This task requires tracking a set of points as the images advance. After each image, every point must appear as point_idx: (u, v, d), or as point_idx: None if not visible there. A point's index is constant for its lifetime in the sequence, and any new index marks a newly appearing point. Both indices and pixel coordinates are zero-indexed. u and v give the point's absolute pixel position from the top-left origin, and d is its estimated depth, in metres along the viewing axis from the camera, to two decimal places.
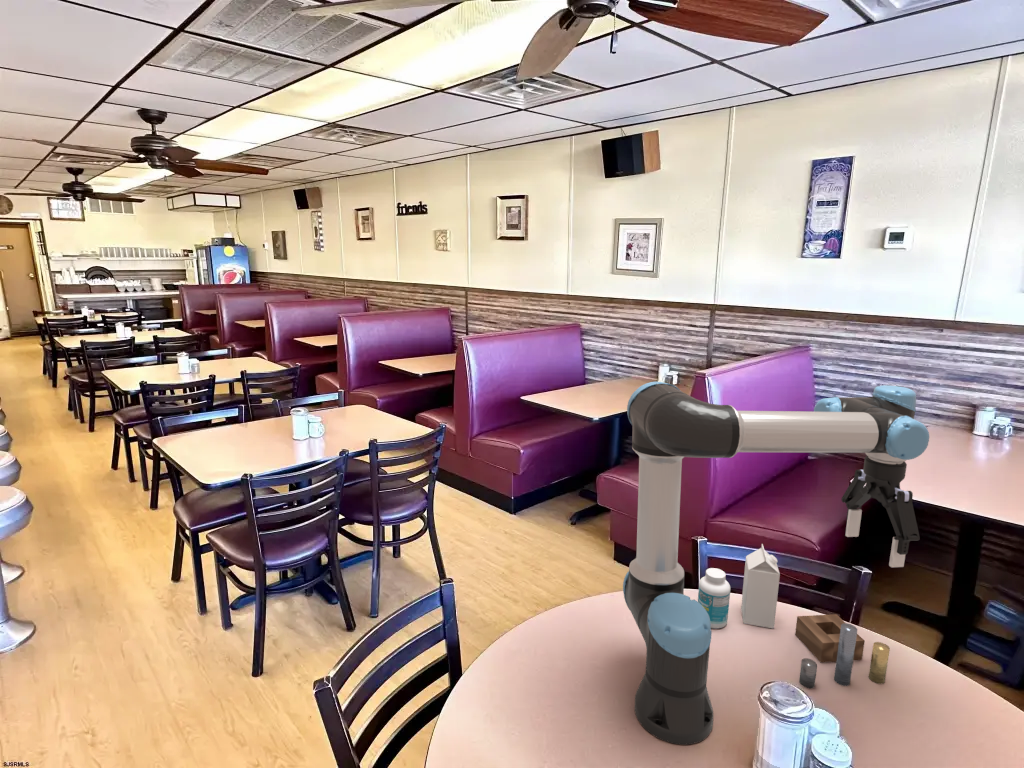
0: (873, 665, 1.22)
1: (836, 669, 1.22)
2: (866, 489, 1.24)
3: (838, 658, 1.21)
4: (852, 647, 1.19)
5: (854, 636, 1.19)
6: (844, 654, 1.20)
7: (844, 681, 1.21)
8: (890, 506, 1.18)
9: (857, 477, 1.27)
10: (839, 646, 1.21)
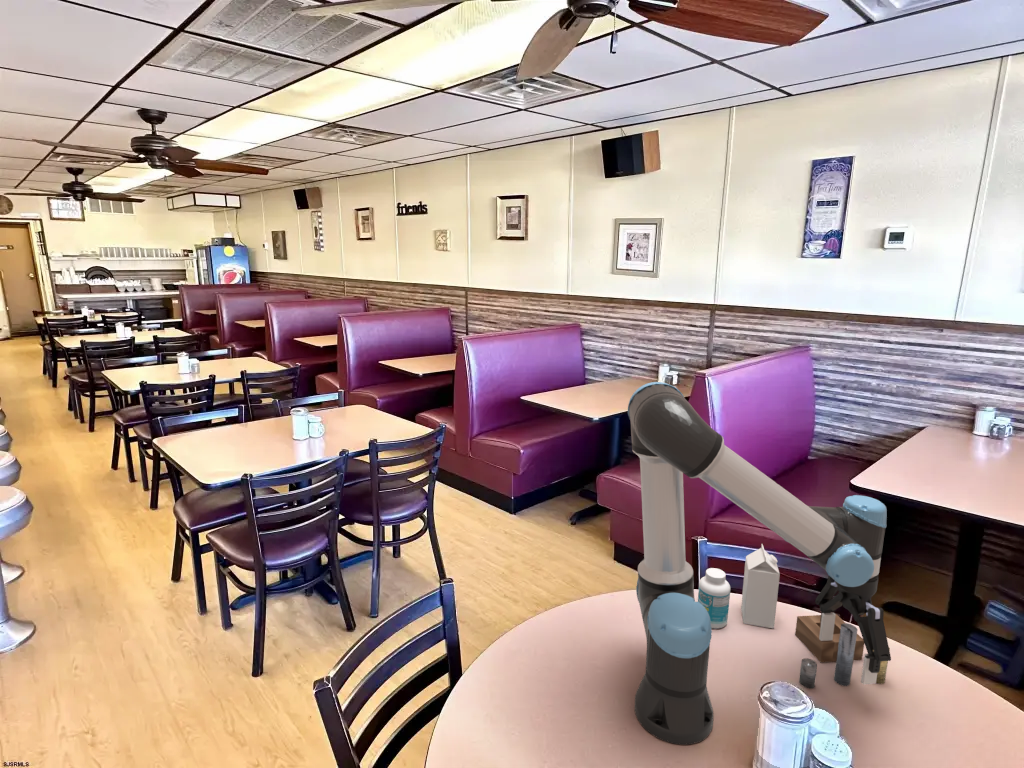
0: None
1: (836, 669, 1.22)
2: (838, 598, 1.21)
3: (838, 658, 1.21)
4: (852, 647, 1.19)
5: (854, 636, 1.19)
6: (844, 654, 1.20)
7: (844, 681, 1.21)
8: (862, 621, 1.15)
9: (830, 583, 1.24)
10: (839, 646, 1.21)
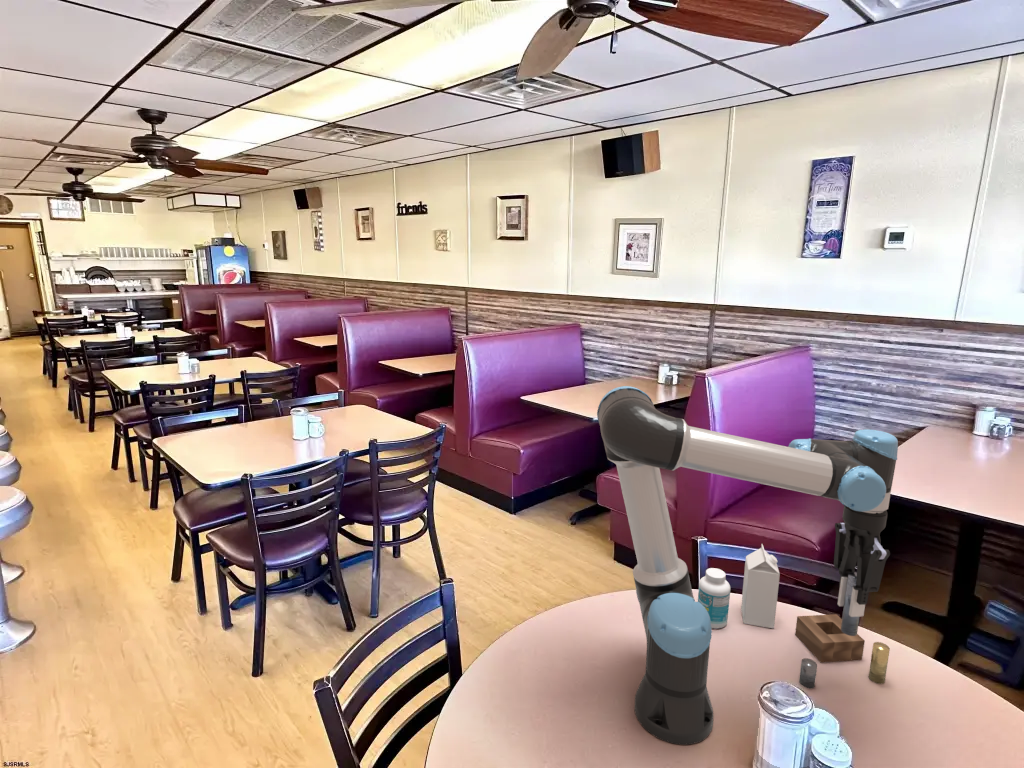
0: (873, 665, 1.22)
1: (843, 619, 1.20)
2: (848, 540, 1.17)
3: (845, 607, 1.19)
4: None
5: None
6: None
7: (851, 631, 1.19)
8: (863, 558, 1.14)
9: (838, 530, 1.21)
10: (846, 595, 1.19)
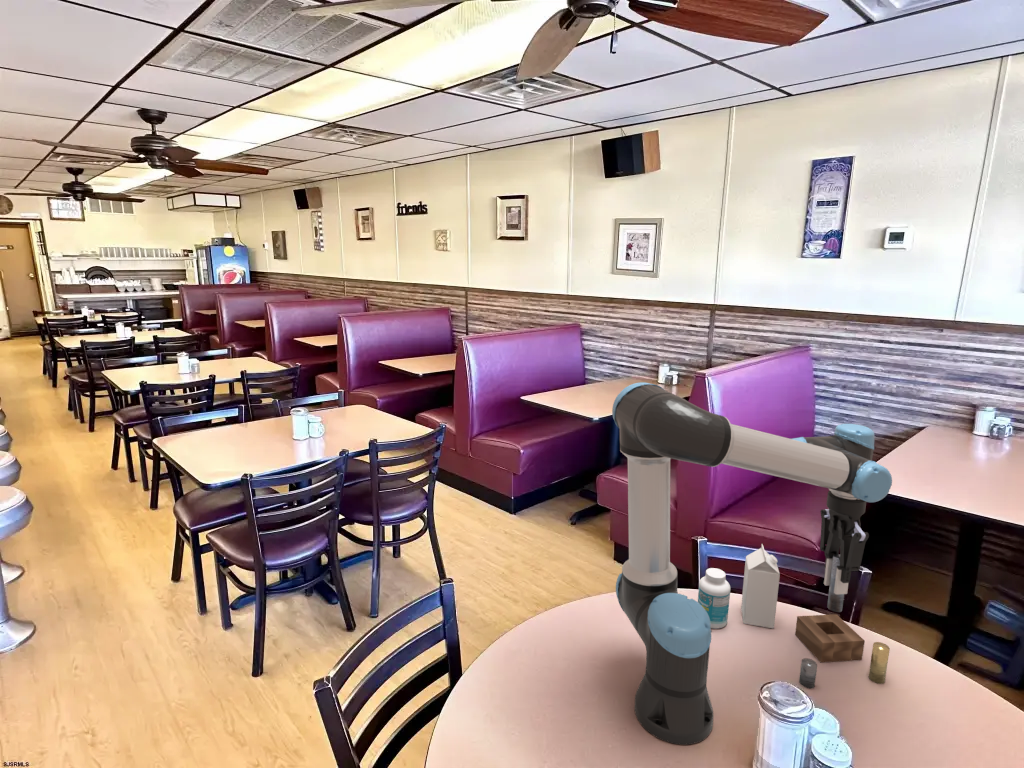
0: (873, 665, 1.22)
1: (829, 597, 1.31)
2: (832, 524, 1.29)
3: (830, 586, 1.31)
4: None
5: None
6: None
7: (836, 607, 1.30)
8: (845, 540, 1.26)
9: (823, 516, 1.32)
10: (831, 575, 1.30)
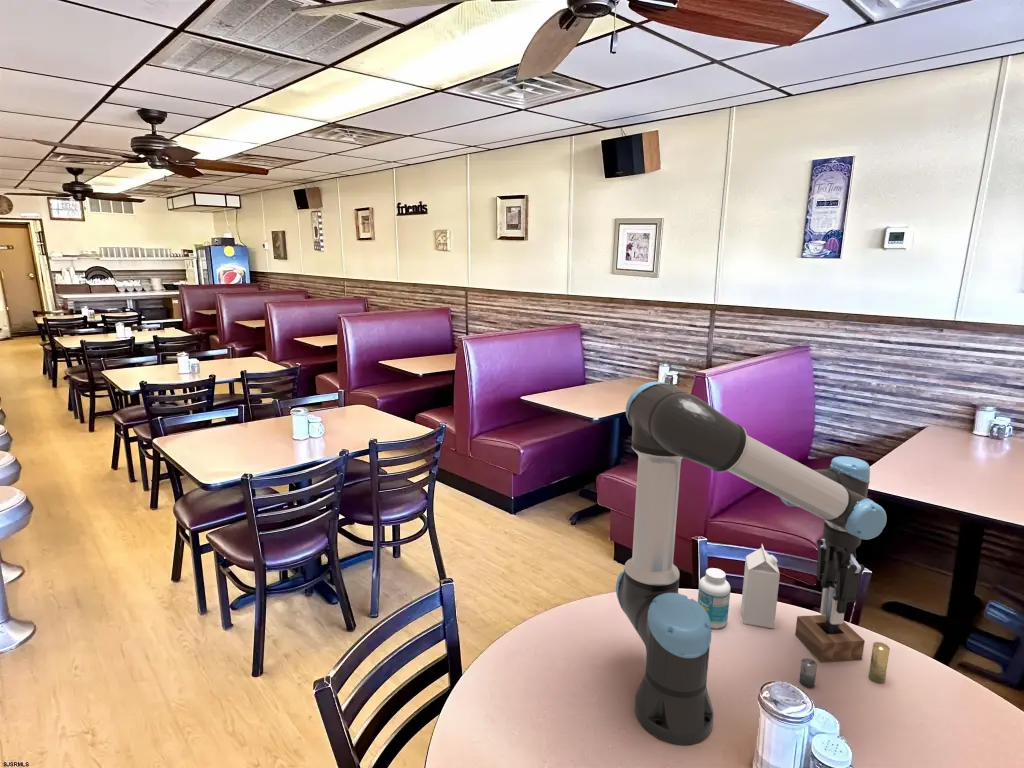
0: (873, 665, 1.22)
1: (825, 626, 1.33)
2: (828, 555, 1.30)
3: (827, 616, 1.32)
4: None
5: None
6: None
7: None
8: (841, 571, 1.27)
9: (820, 546, 1.34)
10: (827, 605, 1.32)
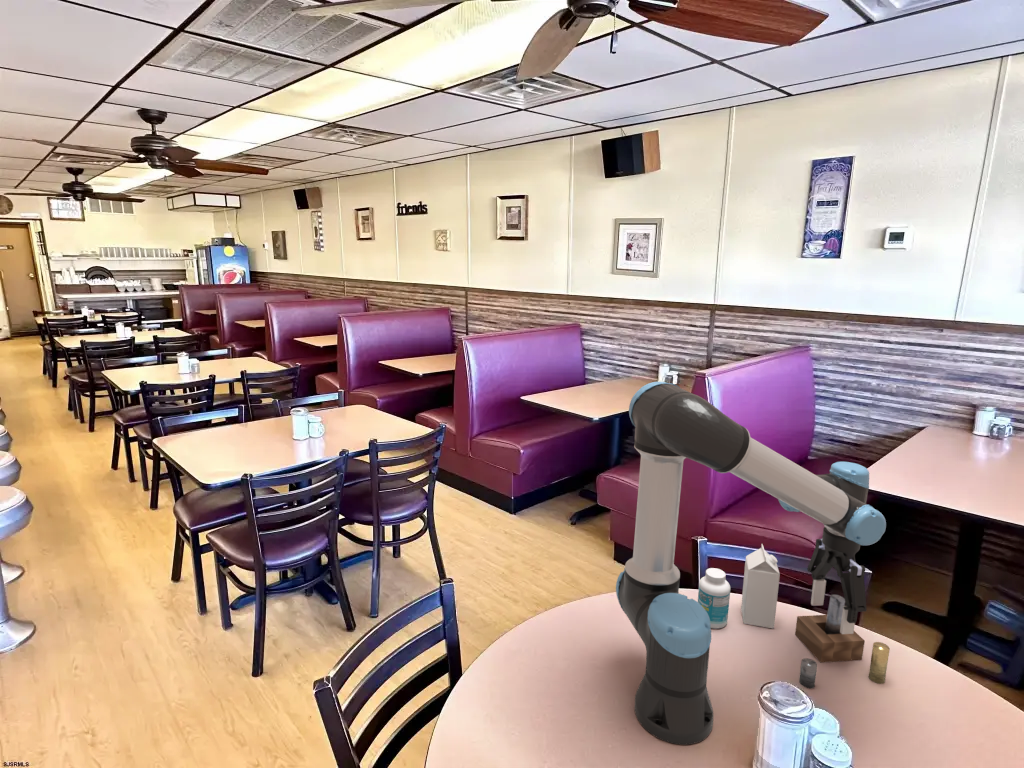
0: (873, 665, 1.22)
1: None
2: (826, 558, 1.31)
3: (826, 626, 1.32)
4: (840, 616, 1.30)
5: (842, 606, 1.29)
6: (832, 622, 1.31)
7: None
8: (844, 577, 1.26)
9: (818, 546, 1.35)
10: (828, 615, 1.32)
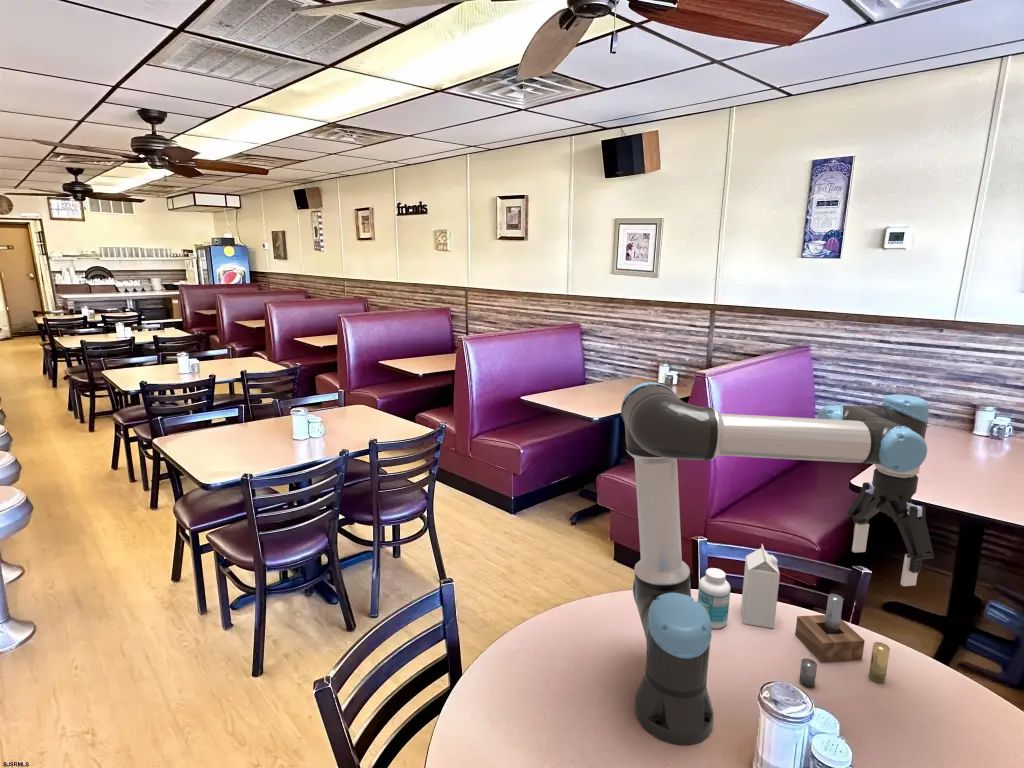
0: (873, 665, 1.22)
1: None
2: (875, 503, 1.18)
3: (825, 625, 1.32)
4: (838, 615, 1.30)
5: (840, 605, 1.30)
6: (831, 621, 1.31)
7: None
8: (902, 521, 1.12)
9: (865, 490, 1.21)
10: (826, 614, 1.32)
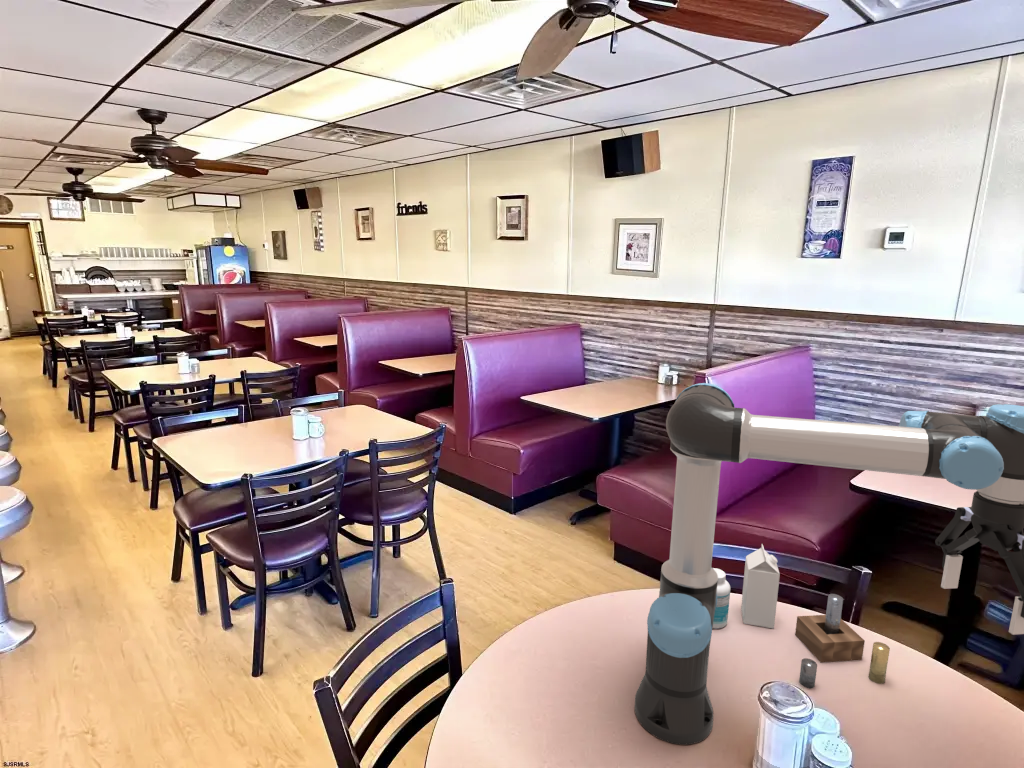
0: (873, 665, 1.22)
1: None
2: (974, 533, 0.99)
3: (825, 625, 1.32)
4: (838, 615, 1.30)
5: (840, 605, 1.30)
6: (831, 621, 1.31)
7: None
8: (1011, 557, 0.93)
9: (959, 516, 1.03)
10: (826, 614, 1.32)
